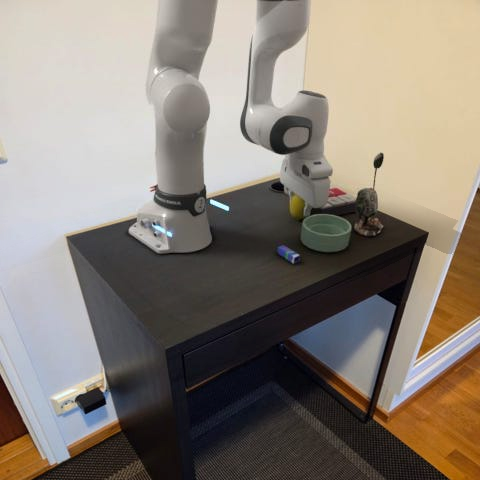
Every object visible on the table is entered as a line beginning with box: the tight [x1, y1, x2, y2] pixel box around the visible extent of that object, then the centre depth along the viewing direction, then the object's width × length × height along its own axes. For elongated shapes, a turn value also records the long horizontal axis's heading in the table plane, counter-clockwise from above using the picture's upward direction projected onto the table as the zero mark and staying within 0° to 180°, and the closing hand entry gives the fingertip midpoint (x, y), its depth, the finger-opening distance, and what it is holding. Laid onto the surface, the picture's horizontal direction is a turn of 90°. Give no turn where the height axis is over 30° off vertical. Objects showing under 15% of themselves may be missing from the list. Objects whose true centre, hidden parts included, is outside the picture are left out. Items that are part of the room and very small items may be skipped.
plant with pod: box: [353, 152, 385, 237], centre depth 115 cm, size 8×11×20 cm
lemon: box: [289, 195, 307, 221], centre depth 123 cm, size 6×6×8 cm
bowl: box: [300, 214, 353, 253], centre depth 114 cm, size 12×12×5 cm
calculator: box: [309, 187, 357, 216], centre depth 130 cm, size 11×4×15 cm
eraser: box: [277, 244, 301, 265], centre depth 108 cm, size 2×6×2 cm, turn 36°
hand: (299, 210), depth 123 cm, fingers closed on lemon, 5 cm apart
